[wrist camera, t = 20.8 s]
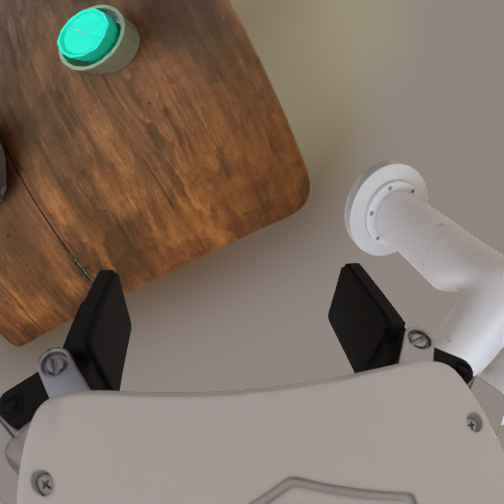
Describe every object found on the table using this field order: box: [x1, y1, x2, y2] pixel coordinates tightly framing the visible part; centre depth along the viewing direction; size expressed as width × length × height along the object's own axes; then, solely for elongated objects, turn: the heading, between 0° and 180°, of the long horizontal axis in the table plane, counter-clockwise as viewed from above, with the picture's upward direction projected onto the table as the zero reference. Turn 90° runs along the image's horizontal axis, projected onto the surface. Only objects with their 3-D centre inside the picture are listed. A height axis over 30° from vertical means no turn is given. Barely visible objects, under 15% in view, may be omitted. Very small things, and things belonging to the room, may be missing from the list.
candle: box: [57, 8, 121, 64], centre depth 21 cm, size 6×6×12 cm
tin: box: [58, 5, 140, 74], centre depth 23 cm, size 8×8×8 cm
